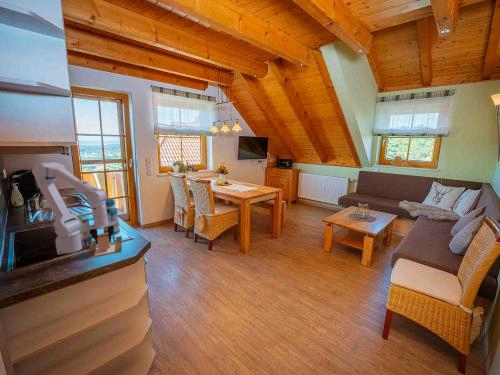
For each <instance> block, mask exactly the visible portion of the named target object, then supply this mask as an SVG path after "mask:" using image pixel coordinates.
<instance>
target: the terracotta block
mask: <svg viewBox="0 0 500 375" xmlns="http://www.w3.org/2000/svg"><path fill="white" fill-rule="evenodd" d="M97 234H98V237H97V241H98V245H97V246H98V248H99V250H103V249H109V248H110V244H112V242H109V235H108V232H107V233H104V232H102V233H97Z"/></svg>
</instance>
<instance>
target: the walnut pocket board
mask: <svg viewBox="0 0 500 375" xmlns="http://www.w3.org/2000/svg"><path fill="white" fill-rule="evenodd" d="M112 239H115V242H113V243H112V242H111V244H110V245H114V244H115V252H112V253H107V254H102V255H98V256H94V255H95V251H96V248H98V245H97V243H96V241H95V240H92V241H91V243H90V245H89V250H88V252H87V256H86V260H90V259H94V258H98V257H104V256H109V255H114V254H119V253H122V252H123V250H122V249H123V248H122V245H123V244H122V243H123V241H122V239H123V238H122V235H119V236H114V237H113V236H112V237H111V240H112Z"/></svg>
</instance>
